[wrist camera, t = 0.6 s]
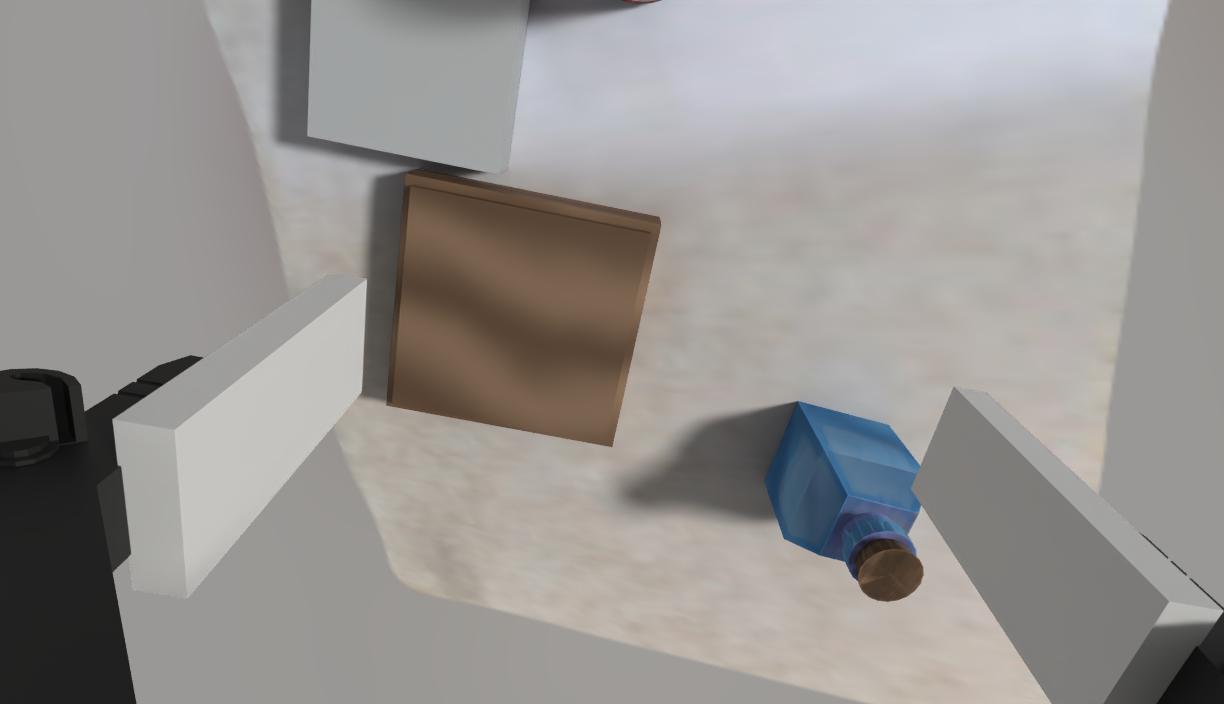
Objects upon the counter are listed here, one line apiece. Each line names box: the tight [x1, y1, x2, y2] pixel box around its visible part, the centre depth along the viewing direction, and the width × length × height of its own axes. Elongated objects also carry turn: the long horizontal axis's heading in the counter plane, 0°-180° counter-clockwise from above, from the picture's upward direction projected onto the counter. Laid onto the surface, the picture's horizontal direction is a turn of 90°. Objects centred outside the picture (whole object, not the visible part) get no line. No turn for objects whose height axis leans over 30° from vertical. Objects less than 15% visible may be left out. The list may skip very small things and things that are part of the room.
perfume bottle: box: [765, 401, 923, 602], centre depth 39 cm, size 6×6×12 cm
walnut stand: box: [386, 169, 661, 447], centre depth 40 cm, size 14×14×3 cm
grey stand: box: [307, 0, 530, 174], centre depth 35 cm, size 10×10×3 cm
